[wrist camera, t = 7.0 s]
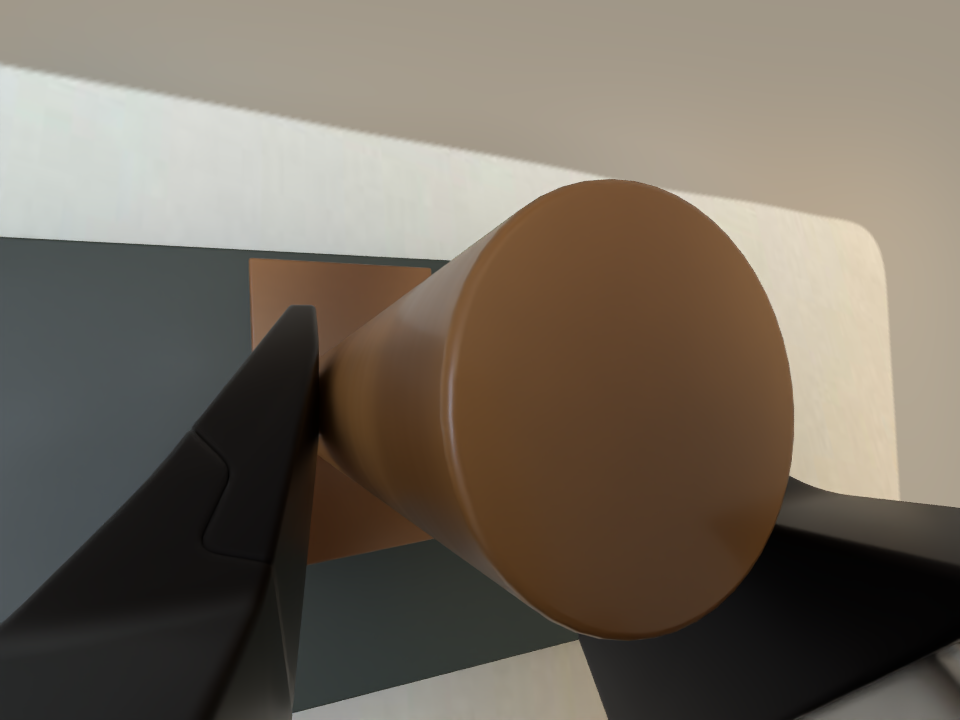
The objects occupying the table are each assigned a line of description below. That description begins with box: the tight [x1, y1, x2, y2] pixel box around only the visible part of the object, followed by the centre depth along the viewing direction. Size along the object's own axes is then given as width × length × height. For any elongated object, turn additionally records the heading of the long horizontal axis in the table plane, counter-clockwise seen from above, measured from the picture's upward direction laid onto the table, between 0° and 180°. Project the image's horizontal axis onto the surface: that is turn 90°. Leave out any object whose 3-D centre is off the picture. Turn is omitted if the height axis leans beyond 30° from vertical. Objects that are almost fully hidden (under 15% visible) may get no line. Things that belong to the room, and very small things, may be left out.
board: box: [0, 237, 579, 713], centre depth 15 cm, size 22×14×1 cm, turn 92°
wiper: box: [249, 179, 794, 641], centre depth 9 cm, size 5×8×13 cm, turn 3°
